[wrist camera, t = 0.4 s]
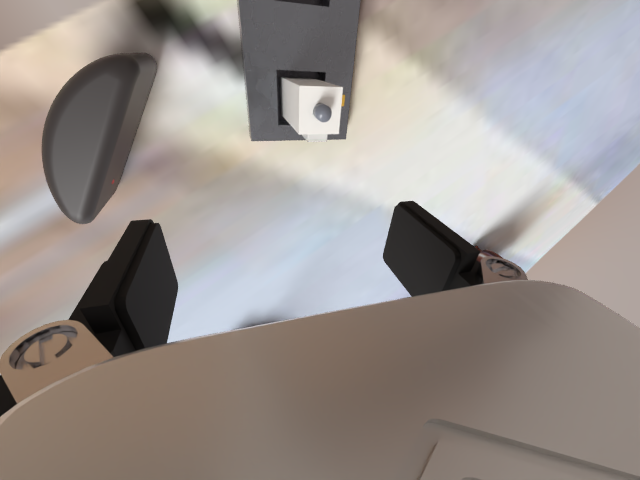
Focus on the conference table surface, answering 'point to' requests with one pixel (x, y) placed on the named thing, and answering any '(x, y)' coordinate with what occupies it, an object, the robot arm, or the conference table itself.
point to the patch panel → (294, 56)
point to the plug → (311, 106)
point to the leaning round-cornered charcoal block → (94, 131)
